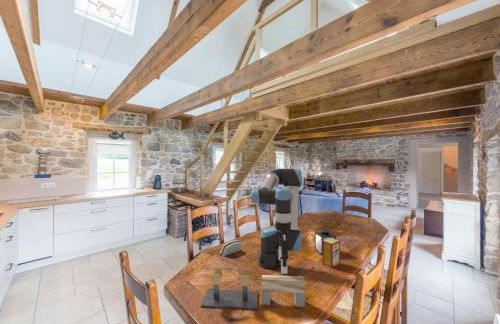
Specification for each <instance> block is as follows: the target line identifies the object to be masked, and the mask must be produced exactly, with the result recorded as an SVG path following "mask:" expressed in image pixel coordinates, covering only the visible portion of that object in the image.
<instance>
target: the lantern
mask: <svg viewBox="0 0 500 324" xmlns="http://www.w3.org/2000/svg"><path fill="white" fill-rule="evenodd" d="M323 217H326V218H323V221H322V222H324V221H325V220H324V219H328V217H327V215H326V214H324V216H323ZM330 232H331V231H330V230H329V229H328V228H321V229H320V230H319V231H315V232H314V250H315V249H316V250H315V251H317V250H318V251H319V252H320V253H321V254H320V253H319V252H318V251H317V252H318V253H319V254H320V255H322V256H323V241H324V240H327V239H330V238H333V239H336V240H337V238H336V235H334V234H332V233H330Z"/></svg>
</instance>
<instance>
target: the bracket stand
mask: <svg viewBox="0 0 500 324" xmlns="http://www.w3.org/2000/svg"><path fill="white" fill-rule="evenodd" d="M250 276H251V268H241V274H240V276H239V278H240V281H239V282H240V283H239V285H240V287H242V290H235V289H234V290H233V289H220V288H221V287H220V284H221V281H222V279H223V267H214V268H213V273H211V274H210V285H212V286H213V289H212V288H211V289H210V288H207V289H206V291H205V294H204V296H203V298H202V301H201V303H200V307H202V308H217V309H219V308H220V309H237V310H239V309H240V310H253V311H254V310H255V311H257V310H258V298H259V296H258V295H259V291H257V290H249V286H250V281H251V280H250V279H251V277H250Z"/></svg>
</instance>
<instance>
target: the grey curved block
mask: <svg viewBox="0 0 500 324" xmlns="http://www.w3.org/2000/svg"><path fill="white" fill-rule="evenodd" d="M241 250H242V242H241V241H240V240H237V239H236V240H235V239H234V240H231V241H228V242H227V243H225V244H223V245H222V248H221V250H220V251H219V255H221V256H222V257H225V256H228V255H231V254H234V253H237V252H241Z"/></svg>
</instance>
